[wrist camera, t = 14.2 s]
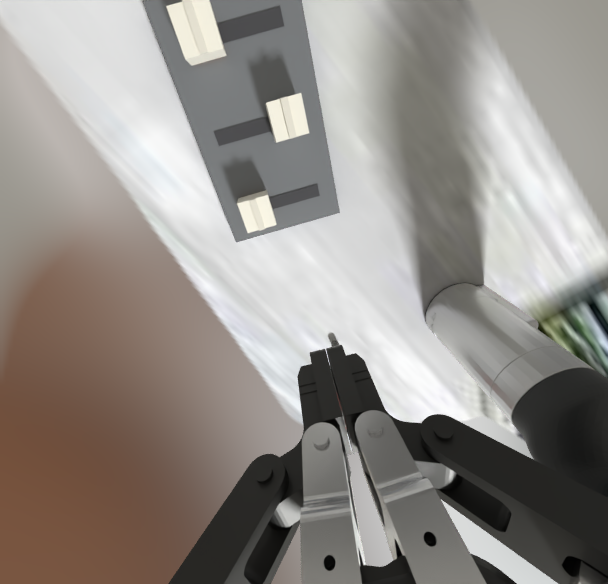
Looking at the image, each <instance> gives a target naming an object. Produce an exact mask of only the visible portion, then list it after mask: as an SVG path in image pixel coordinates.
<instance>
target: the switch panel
mask: <svg viewBox="0 0 608 584" xmlns="http://www.w3.org/2000/svg"><path fill="white" fill-rule="evenodd" d="M179 2H182V0H146V1H143V4H144V6H145V9H146V11H147V14H148V17H149V19H150V22H151V24H152V27H153V29H154V32H155V35H156V37H157V40H158V42H159V45H160V48H161V50H162V53H163V55H164V58H165V60H166V63H167V66H168V68H169V71H170V73H171V76H172V78H173V81H174V84H175V86H176V89H177V91H178V94H179V97H180V99H181V102H182V104H183V107H184V109H185V112H186V115H187V117H188V120H189V122H190V125H191V127H192V130H193V133H194V135H195V138H196V140H197V143H198V146H199V148H200V151H201V153H202V156H203V158H204V161H205V164H206V166H207V169H208V171H209V174H210V176H211V179H212V182H213V184H214V187H215V189H216V192H217V194H218V197H219V200H220V202H221V205H222V207H223V210H224V213H225V215H226V218H227V220H228V223H229V225H230V228H231V231H232V233H233V236H234V238H235V241H236V242H239V241H243V240H246V239H250V238H253V237H257V236H260V235H264V234H267V233H271V232H274V231H278V230H281V229H284V228H288V227H291V226H295V225H298V224H302V223H305V222H309V221H312V220H316V219H319V218H323V217H326V216H330V215H333V214H337V213H340V211H339V206H338V200H337V195H336V189H335V183H334V178H333V172H332V167H331V161H330V156H329V150H328V144H327V139H326V133H325V128H324V122H323V117H322V111H321V106H320V100H319V94H318V89H317V83H316V78H315V72H314V67H313V61H312V56H311V50H310V44H309V39H308V33H307V28H306V22H305V17H304V11H303V6H302V0H210V3H211V6H212V9H213V12H214V15H215V19H216V22H217V25H218V29H219V32H220V35H221V39H222V42H223V46H224V49H225V52H226V56H224V57H221V58H217V59H214V60H210V61H207V62H203V63H200V64H196V65H192V66H191V65H190V64H189V63H188V62H187V61H186V60H185V57H184V55H183V52H182V49H181V46H180V43H179V41H178V38H177V35H176V32H175V30H174V27H173V24H172V21H171V18H170V16H169V13H168V10H167V7H166V6H168V5H172V4H175V3H179ZM298 93H301V94H302V99H303V104H304V109H305V114H306V119H307V124H308V129H309V133H308V134H305V135H301V136H298V137H295V138H291V139H287V140H284V141H280V142H277V143H276V142H275V140H274V136H273V133H272V129H271V125H270V121H269V117H268V114H267V110H266V106H265V104H266V103H267V102H270V101H274V100H277V99H280V98H283V97H288V96H291V95H295V94H298ZM265 190H267V192H268V196H269V199H270V202H271V206H272V209H273V212H274V216H275V219H276V224H277V225H275V226H271V227H268V228H265V229H264V230H261V231H259V230H257V231H254V232H250V233H247V230H246V227H245V224H244V221H243V219H242V216H241V213H240V210H239V208H238V205H237V202H238V198H241V197H244V196H248V195H251V194H255V193H258V192H262V191H265Z"/></svg>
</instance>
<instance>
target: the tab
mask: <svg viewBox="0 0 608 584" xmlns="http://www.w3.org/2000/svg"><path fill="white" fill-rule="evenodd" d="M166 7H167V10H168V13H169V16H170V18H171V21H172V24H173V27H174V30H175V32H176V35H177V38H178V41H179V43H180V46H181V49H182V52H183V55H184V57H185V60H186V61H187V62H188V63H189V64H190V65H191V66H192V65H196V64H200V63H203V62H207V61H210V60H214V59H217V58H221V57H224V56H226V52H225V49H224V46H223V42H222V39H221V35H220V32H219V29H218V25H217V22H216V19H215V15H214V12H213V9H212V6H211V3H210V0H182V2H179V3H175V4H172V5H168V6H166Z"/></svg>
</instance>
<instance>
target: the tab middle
mask: <svg viewBox="0 0 608 584" xmlns="http://www.w3.org/2000/svg"><path fill="white" fill-rule="evenodd" d="M265 106H266V110H267V114H268V117H269V121H270V125H271V129H272V133H273V136H274V140H275V142H276V143H277V142H280V141H284V140H287V139H291V138H295V137H298V136H301V135H305V134H308V133H309V129H308V124H307V119H306V114H305V109H304V104H303V99H302V94H301V93H298V94H295V95H291V96H288V97H283V98H280V99H277V100H274V101H270V102H267V103H266V104H265Z"/></svg>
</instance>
